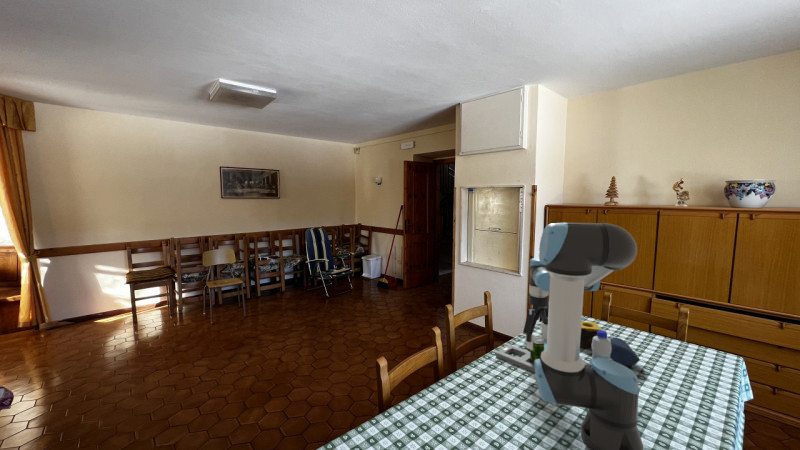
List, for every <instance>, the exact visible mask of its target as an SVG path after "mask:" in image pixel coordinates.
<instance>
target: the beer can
mask: <svg viewBox="0 0 800 450" xmlns="http://www.w3.org/2000/svg"><path fill="white" fill-rule="evenodd" d="M529 350H530V351H529V352H530V362H529V363H531V364H534V362H535V360H536V359H540V360H541V353H542V352H543V351H544V339H543V338H541V336H537V335H536V336H533V350H531V349H529Z"/></svg>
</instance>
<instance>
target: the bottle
mask: <svg viewBox="0 0 800 450" xmlns="http://www.w3.org/2000/svg"><path fill="white" fill-rule="evenodd" d="M610 339H611V338H608V332H606V331H605V330H603V329H601V330H599V331H597V336H594V337H593V340H592V344H591V345H592V349H591V350H592V355H591V360H592V359H595V358H604V359H608V360H611V358H610V354H611V350H612V347H611V341H610Z"/></svg>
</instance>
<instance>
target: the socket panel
mask: <svg viewBox="0 0 800 450" xmlns="http://www.w3.org/2000/svg"><path fill="white" fill-rule="evenodd" d="M511 353H514V354H516V355H518V356H520V357H519V358H518V357H516V356H514V355H512V354H511ZM495 358H499V359H501V360H502V361H505V362H507V361H508V363H510V364H512V365H515V366H517V367H520V368H522V369H525V370H526V371H528V372H532V373H534V374H535V367H534V364H531V363H530V351H529V350H526V349H523V348H520V347H518V346H515V345H513V344H509V345H506V346H505V347H503V348H501V349H500V350H498V351H497V352H496V351H495Z"/></svg>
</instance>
